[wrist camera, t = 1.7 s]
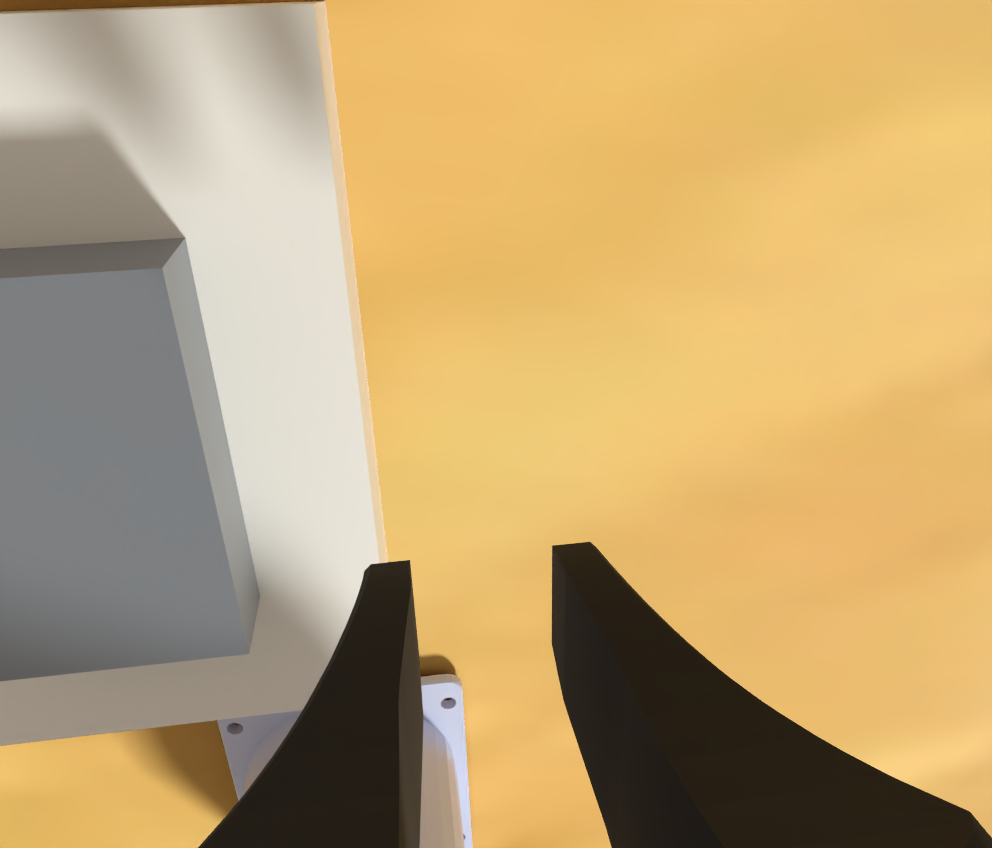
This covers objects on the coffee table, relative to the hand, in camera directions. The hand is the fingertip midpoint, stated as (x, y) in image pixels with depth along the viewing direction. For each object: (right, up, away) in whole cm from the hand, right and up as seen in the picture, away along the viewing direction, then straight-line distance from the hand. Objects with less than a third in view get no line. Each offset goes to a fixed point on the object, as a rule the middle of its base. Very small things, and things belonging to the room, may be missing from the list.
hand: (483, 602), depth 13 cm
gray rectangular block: (-9, +2, +5) cm, 10 cm away
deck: (-9, +4, +8) cm, 13 cm away
